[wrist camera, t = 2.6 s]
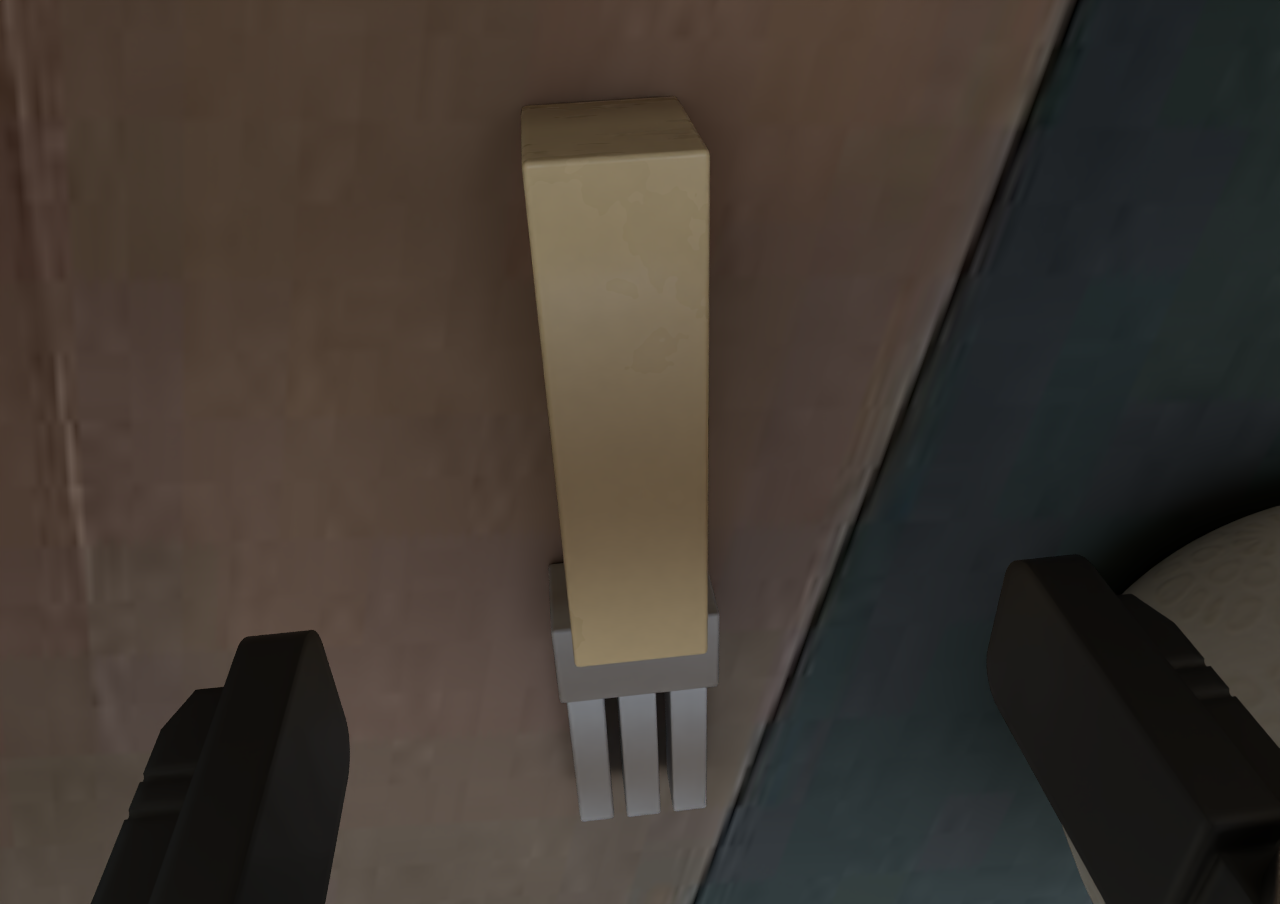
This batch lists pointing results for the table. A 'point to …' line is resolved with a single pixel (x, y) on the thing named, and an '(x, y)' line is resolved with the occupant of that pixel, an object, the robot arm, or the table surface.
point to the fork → (627, 433)
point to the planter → (1224, 615)
